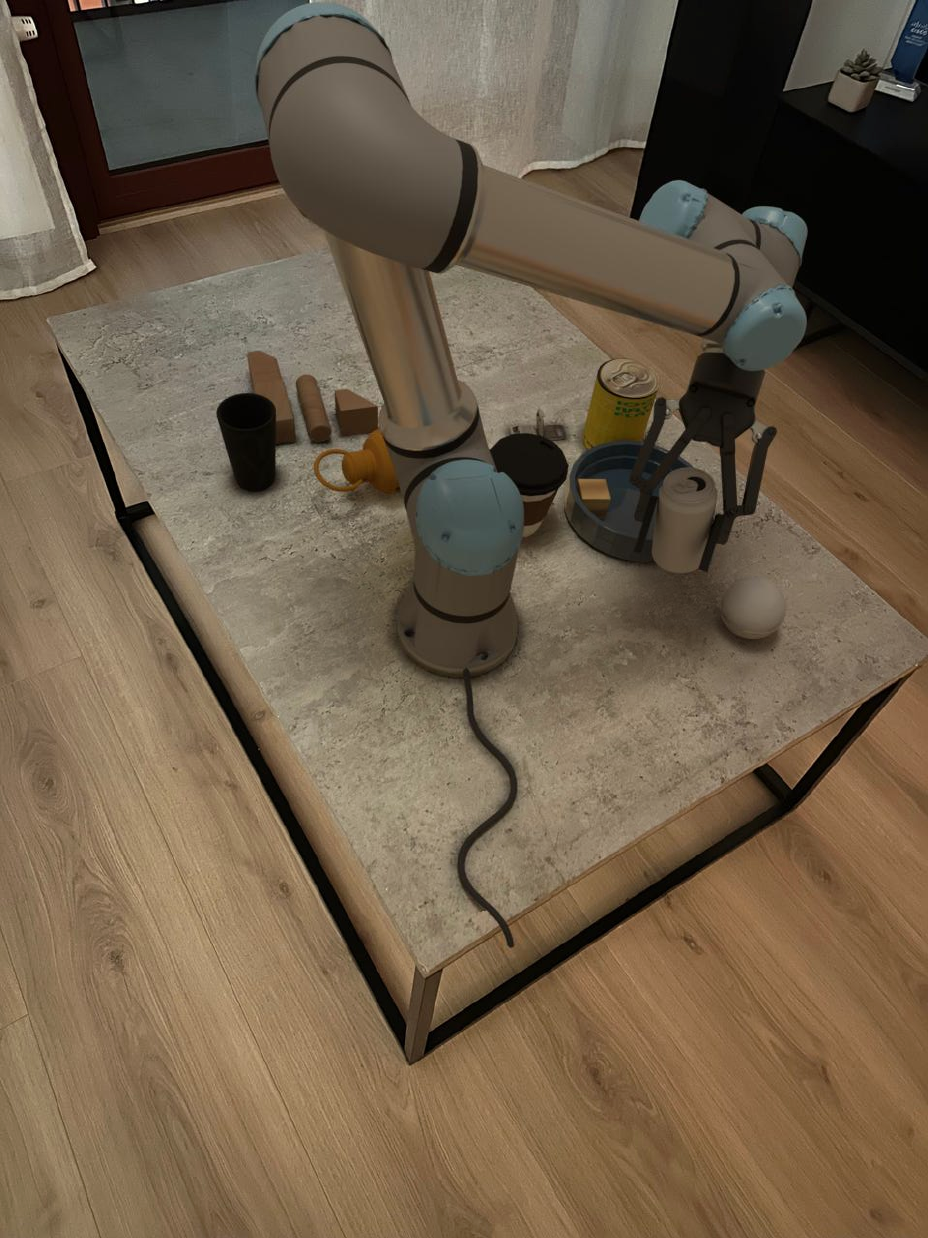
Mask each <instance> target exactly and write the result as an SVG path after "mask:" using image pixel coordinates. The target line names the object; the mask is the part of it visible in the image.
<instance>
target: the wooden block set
mask: <svg viewBox="0 0 928 1238" xmlns="http://www.w3.org/2000/svg"><path fill="white" fill-rule="evenodd" d="M246 357H247V365H248V371H249V376H250V380H251V385H252V390H253V393H254V394H259V395H262V396H264V397H266V398H268V399H269V400H270V401H272V402H273V404H274V405H275V408H276V445H280V444H281V445H282V444H289V443H294V442H296V440H297V439H296V438H297V437H296V435H297V434H296V424H295V417H294V414H293V413H294V412H293V410H292V406H291V403H290V398H289V395H288V391H287V387H286V384H285V383H286V382H285V381H284V380H283V376H282V373H281V370H280V366H279V362H278V359H277V358H276V357H275V356H273V355H271V354H268V353H267V352H264V351H262V350H254V351H249V352H248V353H247V354H246ZM295 388H296V392H297V396H298V399H299V403H300V406H301V410H302V414H303V417H304V421H305V424H306V427H307V428H306V429H307V431H308V435H309V438H310V439H311V440H313V441H314V442H318V443H319V442H324V441H327V440H328V439H329V438H330V437H331V436H332V431H333V430H332V427H331V425H330V420H329V417H328V413H327V410H326V407H325V404H324V400H323V398H322V394H321V391H320V388H319V384H318V381H317V379H316V377H315V376H313V375H311V374H301V375H300V376H299V377H298V378H297V379H296V381H295ZM334 406H335V408H334V409H335V410H334V411H335V418H336V421H337V424H338V428H339V431H340V434H341V436H342V437H346V436H347V437H348V436H354V435H361V434H368V433H369V434H371V433H372V432H373V431H375V430H379V424H378V417H379V405H377V404H375V403H373V402H371V401H370V400H368V399H367V398H365V397H363V396H361V395H359V394H358V393H356V392H354V391H352V390H351V389H349V388H343V389H335V390H334Z"/></svg>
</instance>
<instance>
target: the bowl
mask: <svg viewBox="0 0 928 1238" xmlns="http://www.w3.org/2000/svg"><path fill="white" fill-rule="evenodd" d="M643 443H644V441H642V442H639V441H628V440H623V441H612V442H607V443H604V444H600V445H597V446H594V447H592V448H591V449H589V450H587V449H586V450H585V451H584V452H583V453H581V454H580V456H579V457H578V458H577V459H576V460H575V461H574V462H573V465H572V467H571V470H570V473H569V475H568V480H567V484H566V489H565V493H564V500H563V501H564V512H565V515H566V518H567V520H568V523H569V524H570V525H571V527H572V528H573V529H574V531H575V532H576V533H577V534H578V536H579V537H581V538H582V539H583V540H584V541H585V542H586V543H587V544H589V545H591V546H592V547H593V548H594V549H596V550H598V551H600V552H601V553H604V554H606V555H609V556H611V557H614V558H617V559H621V560H625V561H632V562H639V563H641V562H643V563H644V562H645V563H646V562H647V563H648V562H655V560H654V559H653V556H652V545H653V536H654V528H655V520H656V511H657V503H658V500H657V503H656V507H655V510H654V513H653V516H652V520H651V523H650V526H649V529H648V533H647V536H646V539H645V542H644V546H643V549H642V552H641V553H638V552H634V548H635V545H636V542H637V538H638V535H639V532H640V529H641V525H642V522H638V521H635V520H634V514H635V511H636V507H637V504H638V501H639V498H640V491H639V489H638V488H636V487H635V486H634V485H632V484H630V482H629V480H628V479H629V476H630V474H631V471H632V469H633V467H634V464H635V462H636V460H637V457H638V455H639V453H640V450H641V448H642V446H643ZM669 451H670V450H669V449H667V448H666V447H665V448H664V447H662V446H660V445H656V444H655V446H654V448H653V450H652V453H651V455H650V457H649V460H648V462H647V464H646V467H645V469H644V471H643V474H642V476H641V477H643V478H644V479H646V480H648V479H649V478H650V476H651V475H652V474H653V472H654V471H655V470H656V468H657V467H658V466H659V464H660V463H661V462H662V460H663V459H664V458H665V456H666V455H667V453H668V452H669ZM686 467H690V468H695V467H694V465H692V464H691V463H690V462H689V461H688V460H686V458H683V457H682V456H681V455H680V456H679V457H678V459H677V460H676V461H675V463H674V464H673V465H672V467H671V468H670V469H669V471H668V472H667V473H666V475H665V476H664V477H663V479H662V480H661V481H660V483H659V484H658V485H657V487H656V488H655V489H654V491H653V494H652V495H653V496H656V497H658V494H659V488H660V486H661V484H662V483H663V482H664V479H665V477H666V476H667V475H668V474H669V473H670V472H672V471H674V470H676V469H679V468H686ZM578 479H606V483H607V487H608V491H609V495H610V503H609V506H608V509H607V513H606V516H605V519H599V518H597V517H596V516H595V515H594V514H592V513H591V512H590V511H589V510H588V509H587V507H586V506H585V505H584V504H583V502H582V501H581V500H580V497H579V495H578V493H577V490H576V486H577V482H578Z"/></svg>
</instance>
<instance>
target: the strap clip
mask: <svg viewBox="0 0 928 1238" xmlns="http://www.w3.org/2000/svg"><path fill="white" fill-rule="evenodd" d="M544 417H546V415H545V412H544V410H543V409H541V408H537V410H536V419H535V420H536V424H535V425H533V424H532V423H531V424H530V423H529V424H527V423H526V424H515V425H511V426H510V427H509V435H511V434H515V433H514V432H517V434H519V433H530V434H535V435H540V436H542V437H545V438H547V439H549V440H551V441H560V440H563V439H566V437H567V433H566V430H565V428H564V425H562V424H548V425H545V420H544ZM535 426H536V427H535ZM536 428H537V430H536ZM557 429H560V430H561V433H562V435H559V433H558V430H557Z"/></svg>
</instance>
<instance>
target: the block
mask: <svg viewBox="0 0 928 1238" xmlns="http://www.w3.org/2000/svg"><path fill="white" fill-rule="evenodd" d="M576 490H577V493H578V495H579V497H580V500H581V501H582V502H583V504H584V505H585V506H586V507H587V509H588V510H589V511H590V512H591V513H592V514H594V515H595V516H596V517H597V518H599V519H605V516H606V513H607V509H608V506H609V503H610V495H609V491H608V487H607V483H606V479H578V482H577V486H576Z"/></svg>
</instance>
